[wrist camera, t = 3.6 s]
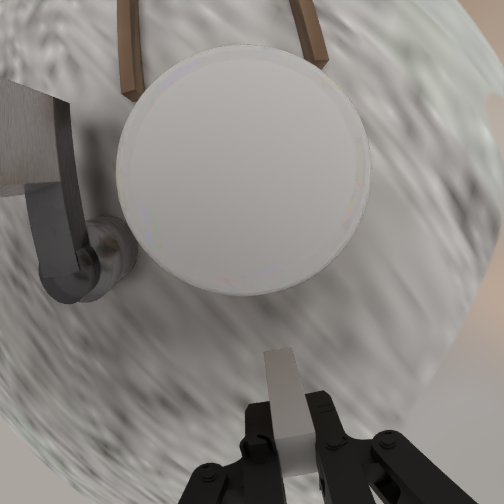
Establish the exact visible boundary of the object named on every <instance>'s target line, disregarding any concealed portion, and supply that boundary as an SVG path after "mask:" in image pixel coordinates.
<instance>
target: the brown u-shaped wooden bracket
mask: <svg viewBox="0 0 504 504" xmlns="http://www.w3.org/2000/svg"><path fill="white" fill-rule="evenodd" d="M289 2H290V5H291V9H292V13H293V16H294V20H295V24H296V27H297V31H298V35H299V39H300V43H301V47H302V51H303V56H304V59H305V60H306V61H308V62H310V63H311V64H313V65H315V66H316V67H317V68H319V69H320V70H321V69H322V68H323V67H324V66H325V64H326V63H327V62H328V60H329V58H328V54H327V50H326V46H325V42H324V38H323V35H322V31H321V28H320V24H319V21H318V17H317V14H316V11H315V7H314V4H313V1H312V0H289ZM117 33H118V56H119V72H120V84H121V94H123V95H124V96H125V97H127V98H128V99H130V100H131V101H132V102H134V101H138V100H139V98H140V97H141V95H142V94H143V93H144V92H145V90H144V81H143V71H142V60H141V47H140V33H139V16H138V0H117Z"/></svg>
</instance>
